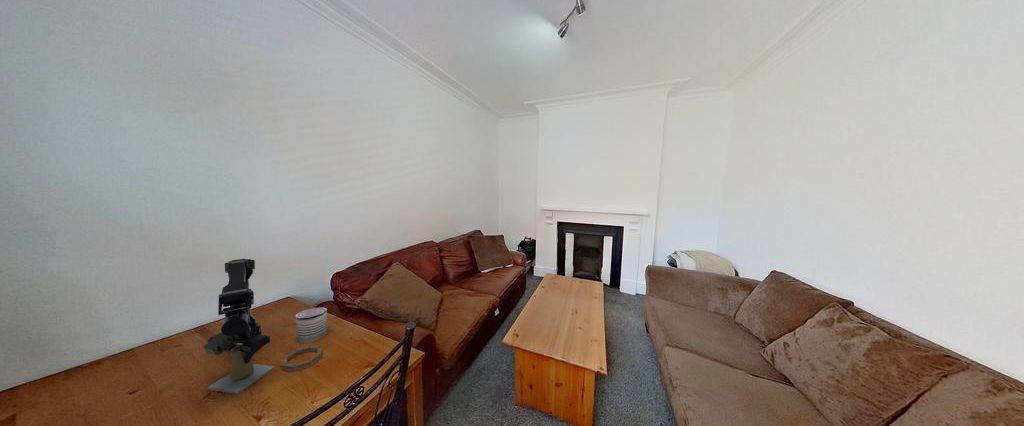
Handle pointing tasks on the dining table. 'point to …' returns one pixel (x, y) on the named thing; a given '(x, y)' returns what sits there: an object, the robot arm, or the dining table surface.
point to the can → (311, 324)
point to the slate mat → (240, 380)
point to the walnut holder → (302, 365)
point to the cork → (239, 364)
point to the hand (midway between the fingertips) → (241, 362)
